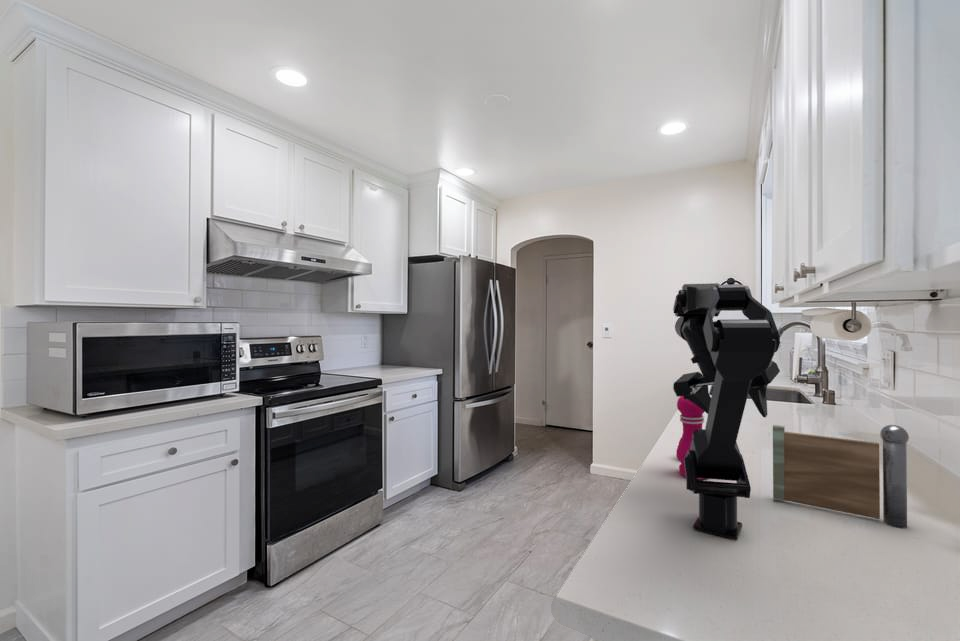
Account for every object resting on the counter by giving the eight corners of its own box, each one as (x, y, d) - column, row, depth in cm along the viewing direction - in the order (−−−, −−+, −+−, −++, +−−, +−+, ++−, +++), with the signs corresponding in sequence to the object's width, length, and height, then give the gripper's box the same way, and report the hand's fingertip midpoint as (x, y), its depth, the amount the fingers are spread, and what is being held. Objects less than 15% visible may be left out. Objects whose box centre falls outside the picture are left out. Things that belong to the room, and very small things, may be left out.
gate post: (911, 530, 74) (910, 428, 74) (882, 525, 76) (881, 425, 76) (907, 523, 77) (906, 424, 77) (880, 517, 79) (879, 421, 79)
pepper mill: (676, 478, 100) (672, 389, 100) (678, 467, 106) (674, 384, 106) (712, 482, 97) (708, 390, 96) (712, 471, 103) (708, 385, 103)
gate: (880, 519, 77) (879, 438, 77) (773, 498, 87) (772, 426, 87) (879, 516, 79) (878, 436, 79) (774, 495, 88) (773, 424, 88)
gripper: (771, 319, 84) (807, 394, 84) (682, 341, 100) (713, 404, 99) (748, 341, 78) (787, 422, 78) (657, 361, 93) (690, 428, 93)
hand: (741, 418), depth 87 cm, fingers open, 9 cm apart
